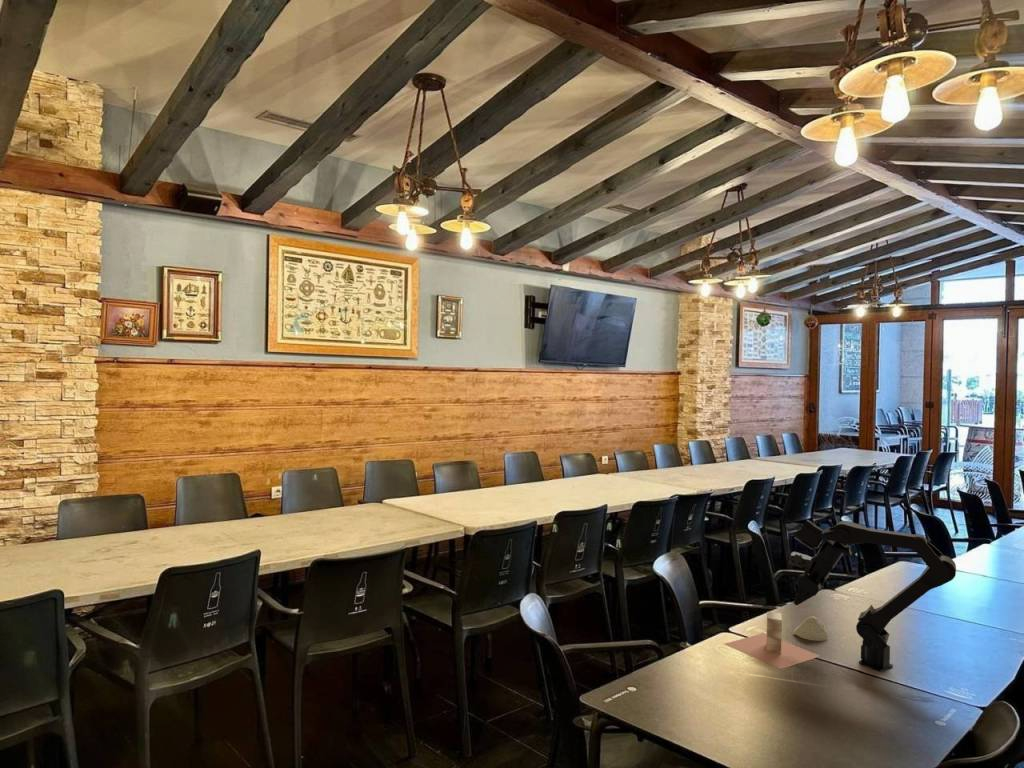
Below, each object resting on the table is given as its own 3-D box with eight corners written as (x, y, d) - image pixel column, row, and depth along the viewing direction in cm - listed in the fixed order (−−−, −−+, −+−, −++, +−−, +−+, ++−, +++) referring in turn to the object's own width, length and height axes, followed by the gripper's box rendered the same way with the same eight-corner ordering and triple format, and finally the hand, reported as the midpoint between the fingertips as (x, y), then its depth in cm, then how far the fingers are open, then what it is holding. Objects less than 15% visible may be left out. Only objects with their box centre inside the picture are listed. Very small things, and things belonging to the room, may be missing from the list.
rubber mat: (820, 657, 198) (820, 656, 198) (780, 670, 189) (780, 669, 189) (763, 634, 215) (763, 633, 215) (723, 645, 206) (723, 643, 206)
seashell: (835, 636, 208) (814, 624, 207) (816, 653, 212) (796, 641, 211) (827, 618, 216) (807, 606, 215) (809, 634, 219) (789, 623, 218)
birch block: (780, 646, 205) (781, 613, 205) (781, 654, 199) (781, 620, 199) (766, 644, 206) (767, 611, 206) (766, 651, 200) (767, 618, 200)
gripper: (807, 536, 212) (780, 575, 216) (794, 548, 197) (766, 590, 201) (841, 558, 207) (813, 598, 211) (831, 572, 191) (801, 615, 195)
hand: (798, 600), depth 205 cm, fingers open, 9 cm apart
